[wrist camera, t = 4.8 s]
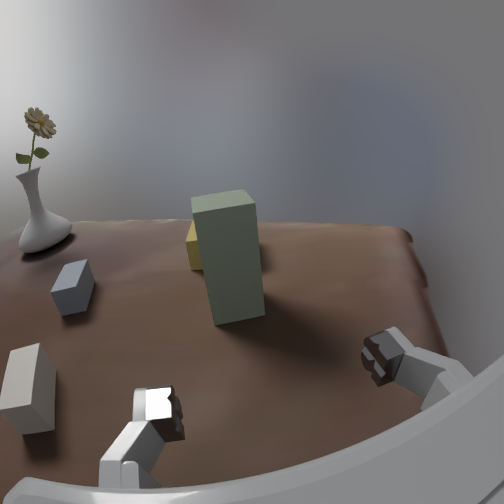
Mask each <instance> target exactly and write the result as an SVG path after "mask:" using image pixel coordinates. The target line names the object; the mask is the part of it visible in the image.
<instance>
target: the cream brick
mask: <svg viewBox="0 0 504 504" xmlns="http://www.w3.org/2000/svg"><path fill="white" fill-rule="evenodd" d="M55 384H56V368H55V367H54V365H53V364H52V362H51V361H50V359H49V357H48V356H47V354H46V353H45V351H44V349H43V348H42V346H41V345H40V343H38V344H34V345H30V346H27V347H23V348H19V349H16V350H12V351H11V352H10V356H9V360H8V364H7V368H6V372H5V376H4V381H3V386H2V391H1V396H0V412H1V414H2V415H3V416H4V417H5V418H6V419H7V420H8V421H9V422H10V423H11V424H12V425H13V426H14V427H15V428H16V429H17V430H18V431H19V432H20V433H21V434H22V435H25V434H32V433H39V432H46V431H52V430H55Z"/></svg>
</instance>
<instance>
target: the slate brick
mask: <svg viewBox="0 0 504 504" xmlns="http://www.w3.org/2000/svg"><path fill="white" fill-rule="evenodd" d="M94 283H95V279H94V277H93V274H92V271H91V268H90V265H89V262H88V260H87V259H85V260H81V261H77V262H73V263H69V264H65V265H64V267H63V269H62V271H61V273H60V275H59V276H58V278H57V280H56V282H55V284H54V286H53V288H52V290H51V295H52V297H53V299H54V301H55V303H56V306H57V308H58V310H59V312H60V314H61V316H64V315H69V314H74V313H78V312H83V311H87V307H88V303H89V300H90V296H91V293H92V289H93V286H94Z"/></svg>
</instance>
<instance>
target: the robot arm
mask: <svg viewBox="0 0 504 504" xmlns="http://www.w3.org/2000/svg"><path fill="white" fill-rule="evenodd" d="M363 344H364V345H365V348H364V349H363V350H362V353H361V360H362V363H363V366H364V367H365V369H366V370H367V371H370V372H372V374H371V378H372V379H373V380H374V382H375V383H376V385H377V386H378V387H380V386H382V385H385V384H387V383H390V382H392V381H394V382H395V383H397V384H399V385H401V386H403V387H405V388H407V389H408V390H410V391H412V392H414V393H416V394H418V395H420V396H422V397H424V398H425V400H424V402H423V403H422V405H421V408H420V409H421V410H422V412H420V413H419V414H417V415H415V416H413V417H411V418H410V419H408V420H406V421H404V422H402V423H400V424H398V425H396V426H394V427H392V428H390V429H388V430H386V431H384V432H382V433H380V434H378V435H376V436H373V437H371V438H369V439H367V440H365V441H362V442H360V443H357V444H355V445H353V446H350V447H348V448H345V449H343V450H340V451H337V452H335V453H332V454H329V455H326V456H324V457H321V458H318V459H315V460H312V461H309V462H306V463H302V464H299V465H296V466H292V467H289V468H285V469H281V470H278V471H274V472H270V473H265V474H261V475H257V476H252V477H247V478H242V479H237V480H231V481H226V482H219V483H212V484H205V485H196V486H186V487H174V488H161V484H159V483H158V482H157V481H156V480H155V479H154V478H153V477H152V476H150V475H149V474H150V472H151V470H152V468H153V466H154V465H155V463H156V461H157V459H158V457H159V455H160V453H161V451H162V449H163V447H164V446H165V444H166V443H165V442H172V441H180V440H185V433H184V426H183V424H182V422H181V420H182V418H183V413H182V408H181V404H180V401H179V399H178V397H177V396H175V390H174V388H173V386H172V385H168V386H158V387H148V388H138V389H135V391H134V402H133V422H129V423H128V424H127V425H126V427H125V428H124V429H123V431H122V432H121V433H120V435H119V436H118V437H117V439H116V440H115V441H114V443H113V444H112V445H111V447H110V448H109V449H108V450H107V452H106V453H105V454H104V456H103V457H102V458H101V460H100V469H99V487H89V486H80V485H71V484H64V483H58V482H52V481H47V480H42V479H37V478H32V477H25V478H23V479H22V480H21V481H19V482H18V483H17V484H16V485H15V486H14V487H13V488H12V489H11V490H10V491H9V492H8V493H7V495H6V496H5V498H4V500H3V504H504V354H503V355H502V356H501V357H500V358H498V359H497V360H496V361H495V362H494V363H492V364H491V365H490V366H489V367H487V368H486V369H485V370H483V371H482V372H481V373H480V374H478V375H477V376H476V377H473V376H472V375H471V374H470V373H469V372H468V371H467V370H466V369H465V367H464V366H463V365H462V364H461V363H460V362H459V361H456V360H454V359H451V358H448V357H445V356H442V355H439V354H436V353H433V352H430V351H428V350H425V349H422V348H419V347H417V348H415V347H414V346H413V345H412V344H411V343H410V342H409V340H408V339H407V338H406V337H405V336H404V335H403V334H402V333H401V332H400V331H399V330H398V329H397V328H396V327H392V328H389V329H387V330H384V331H381V332H378V333H376V334H373V335H370V336H368V337H366V338H365V339H364V343H363Z"/></svg>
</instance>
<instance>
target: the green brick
mask: <svg viewBox="0 0 504 504" xmlns="http://www.w3.org/2000/svg"><path fill="white" fill-rule="evenodd" d="M191 203H192V212H193V218H194V224H195V230H196V235H197V241H198V246H199V252H200V257H201V262H202V267H203V272H204V277H205V282H206V287H207V292H208V297H209V302H210V306H211V311H212V316H213V320H214V325H220V324H225V323H230V322H235V321H240V320H245V319H250V318H254V317H259V316H264V315H265V306H264V294H263V283H262V272H261V260H260V249H259V238H258V227H257V216H256V206H255V202H254V201H253V200H252V199H251V197H250V196H249V195H248V194H247V193H246V192H245V191H244V190H243V189H240V190H234V191H227V192H221V193H215V194H209V195H203V196H197V197H192V198H191Z"/></svg>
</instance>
